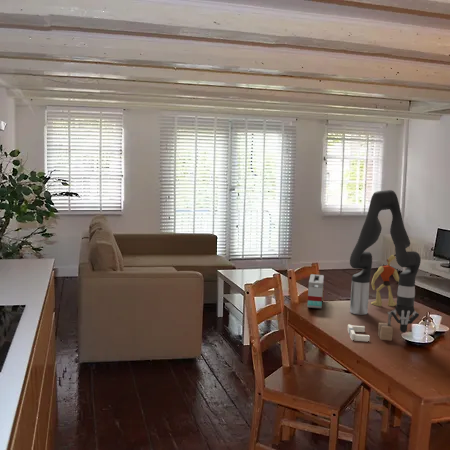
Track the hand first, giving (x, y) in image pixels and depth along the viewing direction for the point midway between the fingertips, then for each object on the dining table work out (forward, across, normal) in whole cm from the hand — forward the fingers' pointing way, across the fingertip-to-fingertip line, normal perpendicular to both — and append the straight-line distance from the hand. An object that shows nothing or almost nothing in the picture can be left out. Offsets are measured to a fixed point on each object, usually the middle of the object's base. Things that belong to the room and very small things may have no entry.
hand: (403, 331), depth 247 cm
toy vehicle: (+3, +36, -56) cm, 67 cm away
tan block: (+3, +8, 0) cm, 9 cm away
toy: (+3, -6, -63) cm, 64 cm away
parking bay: (+3, +20, 0) cm, 20 cm away
